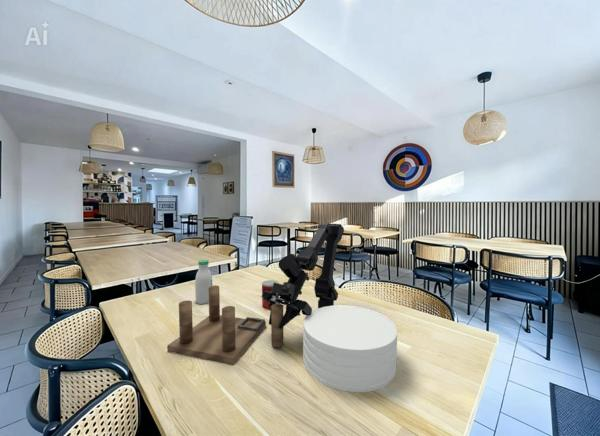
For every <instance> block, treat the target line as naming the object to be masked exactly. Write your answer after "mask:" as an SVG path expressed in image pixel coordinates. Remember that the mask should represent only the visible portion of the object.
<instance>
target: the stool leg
mask: <svg viewBox="0 0 600 436" xmlns="http://www.w3.org/2000/svg"><path fill="white" fill-rule="evenodd" d="M270 311H271V325H270V326H271V331H270V332H271V335H270V336H271V337H270V339H271V346H272V347H274V348H280V347H283V346H284V327H283V328H282V329H280V328H279V325H280V322H281V320H282V318H283V316H284V305H283V304H273V305H272V306H271V309H270Z"/></svg>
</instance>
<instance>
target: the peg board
mask: <svg viewBox="0 0 600 436" xmlns="http://www.w3.org/2000/svg"><path fill="white" fill-rule="evenodd" d="M220 296H221V295H220V286H219V285H212V286H210V287H209V303H208V315H207V317H205V318H204V319H203V320H201V321H200V322H199V323H197V324H195V325H194V326H193V301H192V300H182V301H180V302H179V303H178V322H179V325H178V326H179V328H178V329H179V337H178V338H175V340H173V341H171V342H170V343H169V344H167V352H168V353H174V354H179V355H184V356H189V357H194V358H199V359H203V360H204V359H205V360H210V361H214V362H219V363H224V364H231V365H235V364H236V363H237V362H238V360H239V359H240V358H241V357H242V355H243V354H245V352H246V351H247V349H249V347H251V345H252V343H254V341H256V339H257V338H258V337H259V336H260V334H261V333H262V332H263V331H264V329H265V328H266V327H267V325H266V323H267V322H266V319H265V318H264V319H263V318H258V317H250V316H247V317H246V318H242V317H236V307H235V306H233V305H227V306H223V307H222V308H220V304H221V303H220V301H221V299H220ZM220 313H221V314H220Z"/></svg>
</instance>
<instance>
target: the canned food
mask: <svg viewBox="0 0 600 436" xmlns="http://www.w3.org/2000/svg"><path fill="white" fill-rule="evenodd" d="M274 283H278V284H280V282H279V281H277V280H272V279H269V280H265V281H262V283H261V295H262V294H263V292H264V291H266V290H267V291H270V292H271V291H272V288H273V284H274ZM274 293H275V294H276V296H277V297H280V296H278V295H277V293H276V292H274ZM261 303H262V304H261V306H262V307H263V308H264V309H266V310H271V305H270V304H269V303H268V302H267V301H266V300H265V299H263V298H262V297H261Z"/></svg>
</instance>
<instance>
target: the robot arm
mask: <svg viewBox="0 0 600 436" xmlns="http://www.w3.org/2000/svg"><path fill="white" fill-rule="evenodd" d="M344 229H345V228H344V226H343V225H342V224H340V223H326V224H323V223H321V224H319V225H318V226H317V230H316V232H315V234H314V235H313V237H312V238H311V240H310V241H309V243H308V245H307V246H306V248H304V249H302V250H300V252H298V254H297V256H295V254H294V253H288V254H287V255H286V256H284V257H283V258H281V259H280V260H279V262H278V268H279V269H280V271H282V273H283V274H284V276H285V277H287V278H288V280H287V282H286V281H284V282H283V284H282V283H279V284H278V283H274V284H273V288H272V291H271V292H270V291H267V290H266V291H264V292H263V294H262V293H261V296H260V297H261V299H262V298H263V299H265V300H266V301H267V302H268V303H269V304H270V305H271V306H272V305H273V304H282V305H283V306H285V312H284V313H283V318H282V320H281V322H280V325H279V328H280V329H282V328H283V329H284V328H285V326H287V324H288V323H289V322H291V321H292V320H294V319H295V318H297V317H300V316H301V314H302V315H304V316H305V317H306V316H307V315H309V316H310V315H311V313H312V311H313V307H312V306H311V305H310V304H309V303H308V301H306V300H302V299H298V298H299V295H300V296H301V295H302V294H303V292H302V289H303V287H304V284H305V282H306V281H310V277H309V273H308V272H305V271H309V272H311V271H313V270H314V269H315V268H316V266H317V263H318V261H319V260H318V255H319V252H320V251H321V249H322V246H324V243H325V250H324V255H323V263H322V268H321V273H320V275H319V276H318V277H316V279H315V284H314V289H313V291H314V293H315V298H318V300H317V309H318V308H322V307H326V306H334V305H335V301H338V298H339V293H338V291H337V290H336V282H335V279H334V278H333V274H334V267H335V262H336V261H335V260H336V254H337V249H338V248H337V247H338V244H339V243H340V241H341V240H342V239H343V235H344V233H345V230H344ZM274 292H276V293H277V295H278V296H279V297H277V296H276V294H275V293H274ZM300 312H301V313H300ZM268 324H269V326H271V310H270V313H269V320H268Z"/></svg>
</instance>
